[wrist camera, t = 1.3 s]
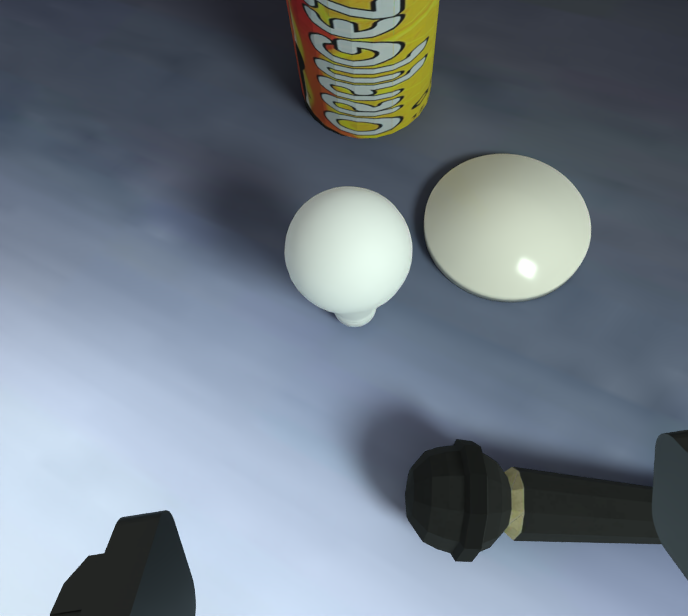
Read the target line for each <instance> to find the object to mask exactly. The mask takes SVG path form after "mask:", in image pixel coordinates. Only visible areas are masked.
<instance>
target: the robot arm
mask: <svg viewBox="0 0 688 616" xmlns="http://www.w3.org/2000/svg"><path fill="white" fill-rule="evenodd" d="M652 517H653V522H654V526H655V529H656V532H657V534H658V537H659V539H660V541H661V543H662V545H663V547H664V548H665V550H666V551H667V553H668V554H669V555H670V557H671V558H672V559H673V561H674V562H675V563H676V565H677V566H678V568H679V569H680V570H681V572H682V573H683V574H684V576H685V577H686V579H687V580H688V430H683V431H676V432H670V433H664V434H661V435H659V436H658V438H657V441H656V446H655V461H654V478H653V495H652ZM195 611H196V599H195V589H194V583H193V579H192V575H191V572H190V569H189V566H188V563H187V560H186V556H185V553H184V550H183V547H182V544H181V541H180V537H179V534H178V531H177V528H176V525H175V522H174V519H173V517H172V515H171V513H170V512H169V511H167V510H165V511H159V512H152V513H146V514H139V515H133V516H127V517H122V518H120V519H119V520H118V522H117V523H116V525H115V528H114V530H113V533H112V535H111V538H110V540H109V543H108V545H107V548H106V550H105V553H104V554H97V555H91V556H88V557H87V558H86V559H85V560H84V562H83V563H82V564H81V565H80V566H79V567H78V568H77V569H76V571H75V572H74V573H73V574H72V575H71V576H70V577H69V578H68V580H67V581H66V582H65V583H64V584H63V587H62V589H61V591H60V593H59V595H58V598H57V600H56V602H55V604H54V606H53V609H52V611H51V613H50V616H195Z"/></svg>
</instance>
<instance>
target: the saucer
mask: <svg viewBox="0 0 688 616" xmlns="http://www.w3.org/2000/svg"><path fill="white" fill-rule="evenodd" d="M424 237H425V242H426V246H427V249H428V251H429V254H430V256H431V258H432V260H433V261H434V263H435V264H436V266H437V267H438V269H439V270H440V271H441V272H442V273H443V274H444V276H446V277H447V278H448V279H449V280H450V281H451V282H452V283H454V284H455V285H457V286H458V287H459V288H461V289H463V290H465V291H466V292H468V293H470V294H473V295H475V296H478V297H480V298H484V299H488V300H492V301H499V302H522V301H528V300H533V299H537V298H539V297H542V296H545V295H547V294H549V293H551V292H553V291H555V290H556V289H558V288H559V287H561V286H562V285H563V284H564V283H565V282H567V281H568V280H569V279H570V278H571V277H572V275H573V274H574V273H575V271H576V270H577V269H578V267H579V266H580V264H581V262H582V261H583V259H584V257H585V255H586V253H587V250H588V247H589V243H590V238H591V223H590V217H589V213H588V209H587V207H586V204H585V202H584V200H583V198H582V196H581V195H580V193H579V192H578V190H577V189H576V188H575V186H574V185H573V184H572V183H571V182H570V181H569V180H568V179H567V178H566V177H565V176H564V175H562V174H561V173H560V172H558V171H557V170H555V169H554V168H552V167H551V166H549V165H547V164H545V163H543V162H540V161H538V160H535V159H532V158H529V157H525V156H520V155H513V154H492V155H485V156H480V157H476V158H473V159H470V160H468V161H466V162H464V163H461V164H459V165H458V166H456V167H455V168H453V169H452V170H450V171H449V172H448V173H447V174H446V175H444V176H443V177H442V179H441V180H440V181H439V182H438V183H437V185H436V186H435V187H434V189H433V190H432V193H431V195H430V197H429V199H428V202H427V205H426V210H425V216H424Z"/></svg>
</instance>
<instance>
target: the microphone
mask: <svg viewBox="0 0 688 616" xmlns="http://www.w3.org/2000/svg"><path fill="white" fill-rule="evenodd" d="M652 495H653V487H648V486H641V485H635V484H628V483H621V482H614V481H607V480H600V479H593V478H586V477H579V476H573V475H566V474H559V473H552V472H545V471H538V470H531V469H524V468H517V467H511V468H510V469H508V470H507V471H505V472H504V471H503V470H502V469H501V467H500V466H499V465H498V463H497V462H496V461H495V460H493V459H492V458H490V457H488V456H487V455H485V454H483V453H482V450H481V447H480V446H479V445H477V444H475V443H474V442H472V441H466V440H459V439H456V441H455V443H454V445H452V446H443V447H438V448H435V449H431V450H428V451H425V452H424V453H423V454H422V456H421V457H420V458H419V459H418V460H417V461H416V463H415V464H414V465H413V466H412V467H411V469H410V471H409V474H408V479H407V485H406V491H405V500H406V514H407V518H408V520H409V522H410V524H411V525H412V526H413V528H414V529H415V531H416V532H417V534H418V535H419V537H420V538H421V540H422V541H423V542H425V543H426V544H428V545H430V546H432V547H434V548H436V549H438V550H442V551H445V552H449V553H451V555H452V557H453V558H454V560H455V561H463V562H472V561H473V560H474V558H475V557H476V556H477V555H478V553H479V552H481V551H483V550H485V549H487V548H490V547H491V546H492V544H493V543H494V542H495V541H496V540H497V539H498V538H499V536H500V535H501V534H502V533H503V532H505V533H506V534H507V535H508V536H509V537H510V538H511V539H512V540H514V541H547V542H591V543H635V544H662V543H661V541H660V539H659V537H658V534H657V532H656V529H655V526H654V522H653V517H652Z"/></svg>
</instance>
